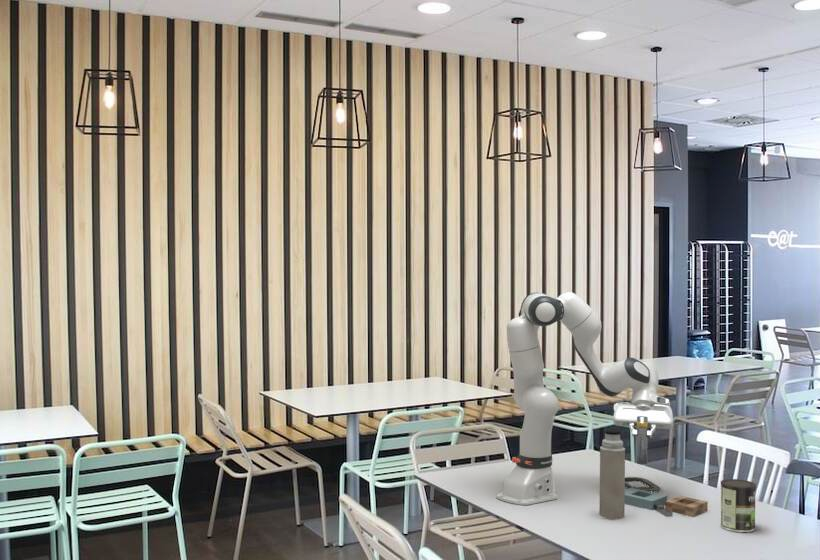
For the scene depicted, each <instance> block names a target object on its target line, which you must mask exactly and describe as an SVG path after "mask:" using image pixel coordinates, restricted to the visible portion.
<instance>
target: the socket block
mask: <svg viewBox="0 0 820 560" xmlns="http://www.w3.org/2000/svg"><path fill="white" fill-rule="evenodd" d="M708 503H709V502H708V501H706V500H702V499H697V498H692V497H687V496H684V495H678V496H675V497H673V498H671V499H667V501H665V505H664V508H665V509H667V510H669V511H671V512H672V513H674V514H678V515H683V514H684V516H687V515H688V516H687V517H692V518H694V517H696V516H698V515H701V514H702V513H705V512H708Z"/></svg>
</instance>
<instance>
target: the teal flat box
mask: <svg viewBox="0 0 820 560" xmlns="http://www.w3.org/2000/svg"><path fill="white" fill-rule="evenodd" d="M668 498H669V497H668V495H667V494H662V493H659V492H658V493H657V492H649V491H645V490H640V489H636V488H626V489H625V505H629V506H633V507H638V508H641V507H642V508H641V509H645V508H646V509H647V510H650V511H655V510H654V504H661V505H663V506H664V507H665V501H667V500H668Z"/></svg>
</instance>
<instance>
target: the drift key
mask: <svg viewBox="0 0 820 560" xmlns="http://www.w3.org/2000/svg"><path fill="white" fill-rule="evenodd" d="M653 511H656V512H658V513H660V514H661V515H664V516H665V517H666V518H667V517H668V518H669V517H673V512H671V511H669V510H667V509H665V505H664V506H663V505H661V504H654V510H653Z"/></svg>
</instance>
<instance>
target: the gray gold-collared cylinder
mask: <svg viewBox="0 0 820 560" xmlns="http://www.w3.org/2000/svg"><path fill="white" fill-rule="evenodd" d="M636 430H637V437H636V456H635V457H636V461H635V462H636V464H637V465H648V438H647V434H648V433H647V432H648V431H649V428H648V417H647V416H637V427H636Z"/></svg>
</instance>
